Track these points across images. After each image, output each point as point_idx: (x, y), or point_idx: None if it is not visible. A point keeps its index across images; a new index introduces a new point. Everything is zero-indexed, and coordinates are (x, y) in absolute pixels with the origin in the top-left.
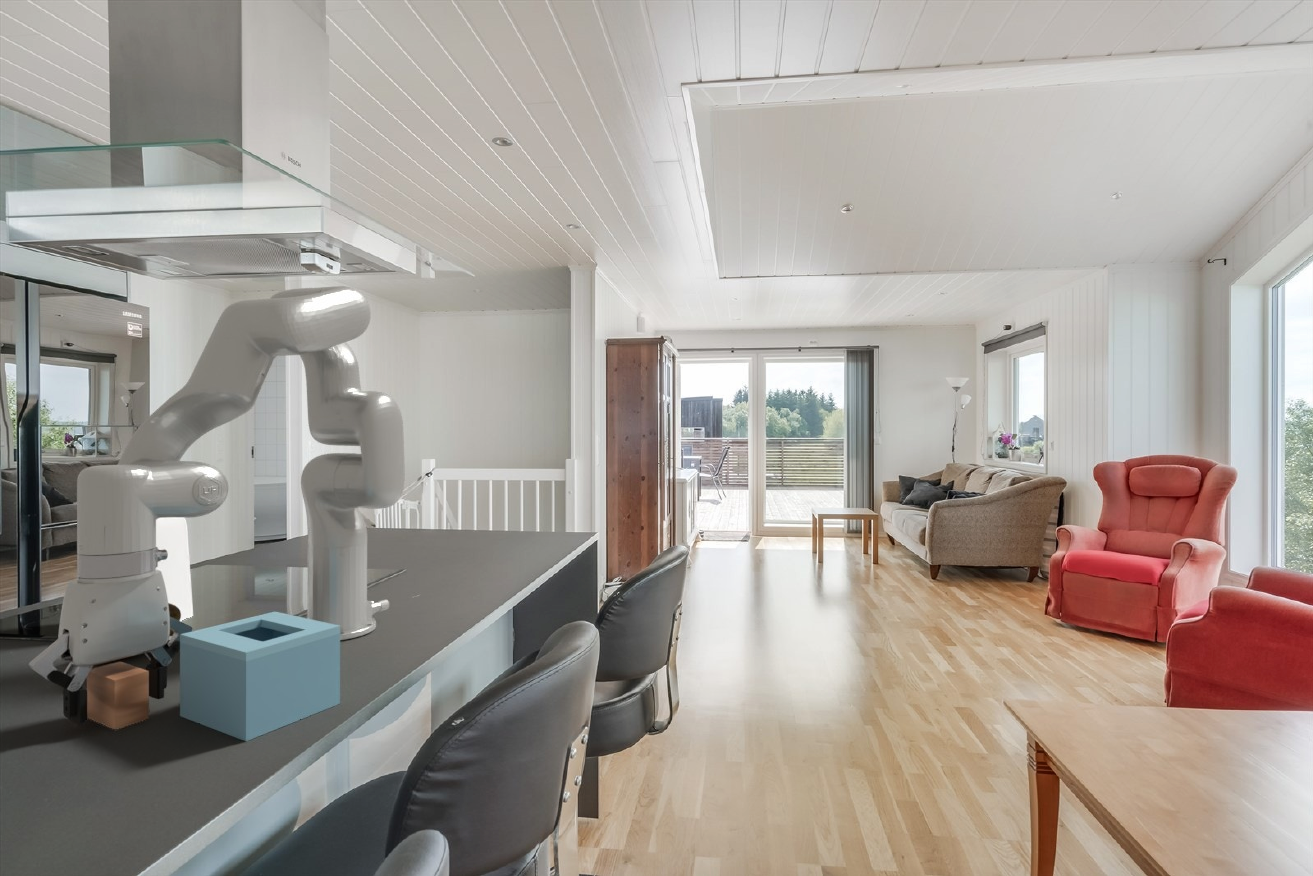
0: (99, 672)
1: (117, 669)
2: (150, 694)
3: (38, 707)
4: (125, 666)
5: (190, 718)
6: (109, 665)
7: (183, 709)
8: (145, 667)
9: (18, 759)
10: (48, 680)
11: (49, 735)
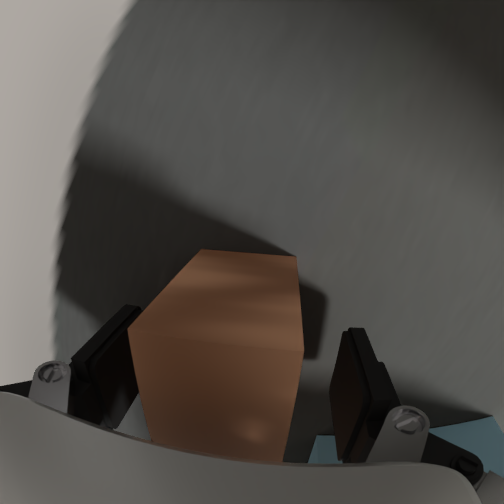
0: (155, 413)
1: (220, 441)
2: (337, 362)
3: (176, 16)
4: (261, 439)
5: (308, 462)
6: (228, 369)
7: (314, 457)
8: (363, 396)
9: (61, 346)
10: (7, 388)
11: (108, 284)
